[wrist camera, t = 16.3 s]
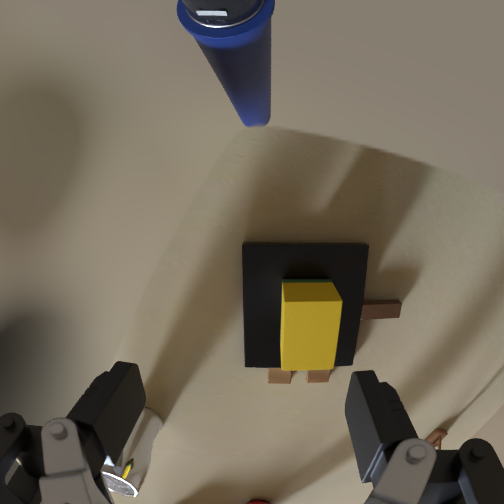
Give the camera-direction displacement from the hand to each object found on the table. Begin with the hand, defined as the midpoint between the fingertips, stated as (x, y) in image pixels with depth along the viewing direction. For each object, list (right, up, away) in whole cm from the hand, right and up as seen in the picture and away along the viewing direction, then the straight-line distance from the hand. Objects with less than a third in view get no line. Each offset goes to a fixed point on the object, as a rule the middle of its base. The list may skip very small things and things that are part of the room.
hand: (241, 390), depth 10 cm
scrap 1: (+4, -11, +28) cm, 30 cm away
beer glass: (-17, -23, +32) cm, 43 cm away
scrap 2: (+9, -11, +27) cm, 31 cm away
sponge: (+6, -2, +24) cm, 25 cm away
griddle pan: (+9, -2, +25) cm, 26 cm away
